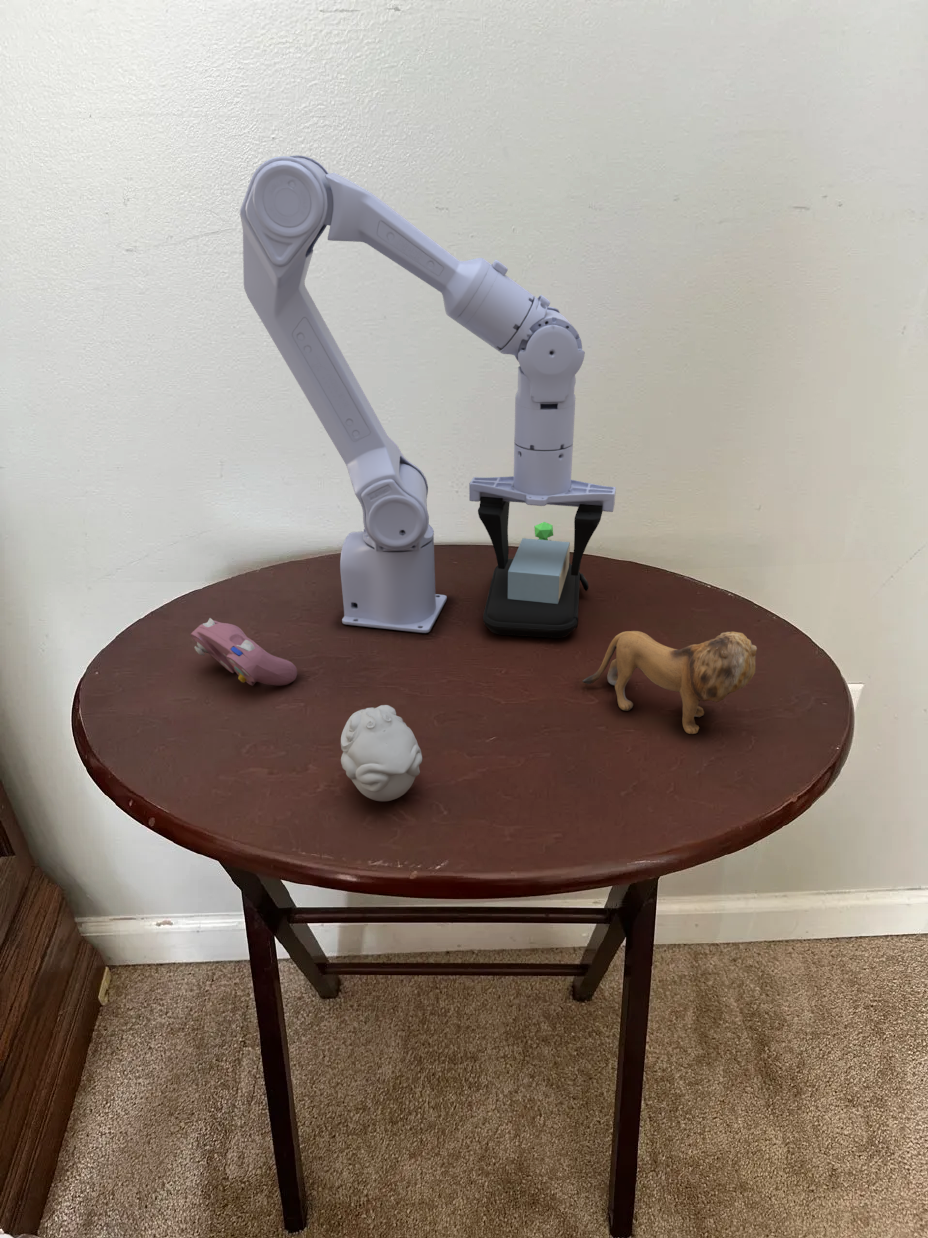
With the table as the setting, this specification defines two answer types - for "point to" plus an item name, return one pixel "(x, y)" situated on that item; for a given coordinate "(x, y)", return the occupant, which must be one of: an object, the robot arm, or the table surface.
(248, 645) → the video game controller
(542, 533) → the game piece
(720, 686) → the lion figurine
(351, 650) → the table surface
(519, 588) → the pale blue rectangular box
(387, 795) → the frog figurine
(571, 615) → the carrying case
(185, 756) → the table surface
